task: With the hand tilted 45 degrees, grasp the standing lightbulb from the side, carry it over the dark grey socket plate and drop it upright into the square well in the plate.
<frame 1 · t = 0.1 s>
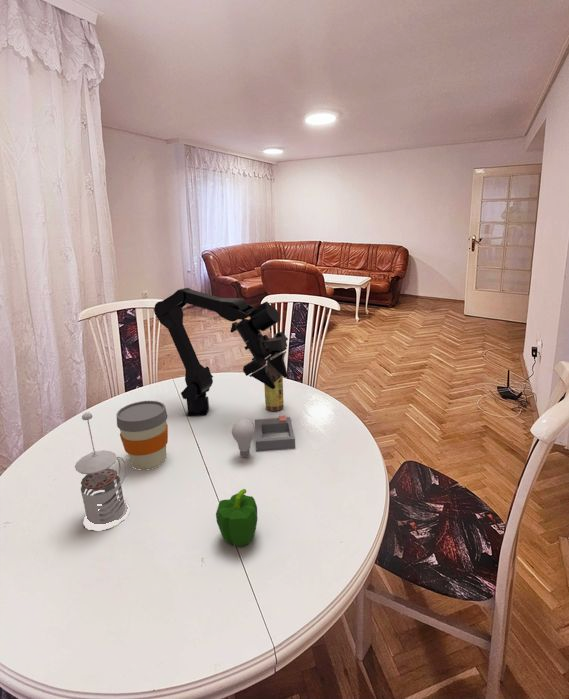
hand: (280, 382, 119), 15 cm above the table, tool tilted 35°, fingers open, 9 cm apart
reusable coffee cup: (149, 461, 108), on the table
bell pepper: (240, 538, 81), on the table
french press: (110, 513, 89), on the table
lightbulb: (245, 457, 108), on the table
sauce bottle: (274, 408, 137), on the table
socket: (276, 439, 117), on the table
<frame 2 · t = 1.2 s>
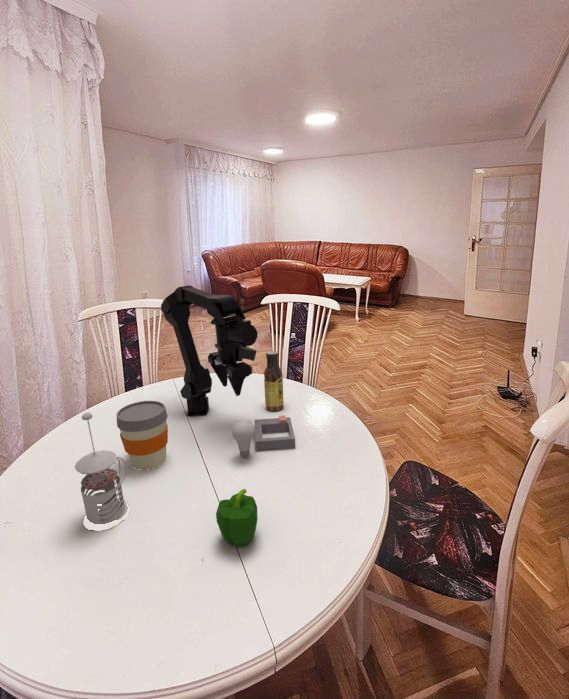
hand: (231, 390, 119), 13 cm above the table, tool pointing down, fingers open, 9 cm apart
nothing on the table moved.
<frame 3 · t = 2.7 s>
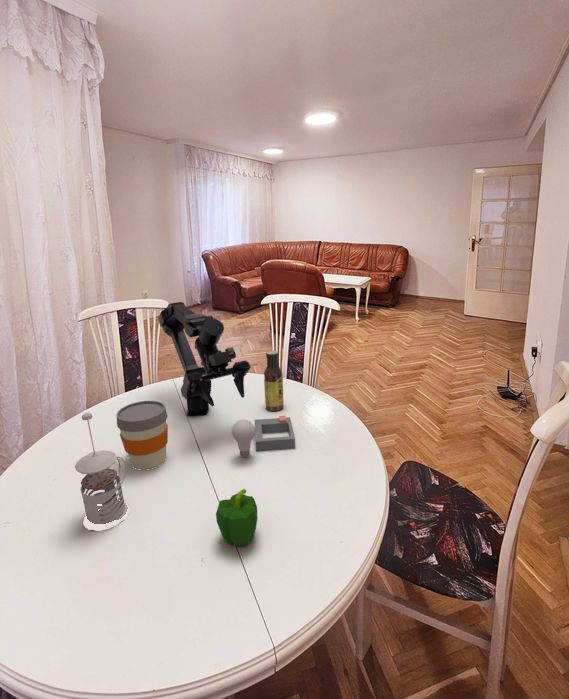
hand: (228, 401, 111), 13 cm above the table, tool tilted 45°, fingers open, 9 cm apart
nothing on the table moved.
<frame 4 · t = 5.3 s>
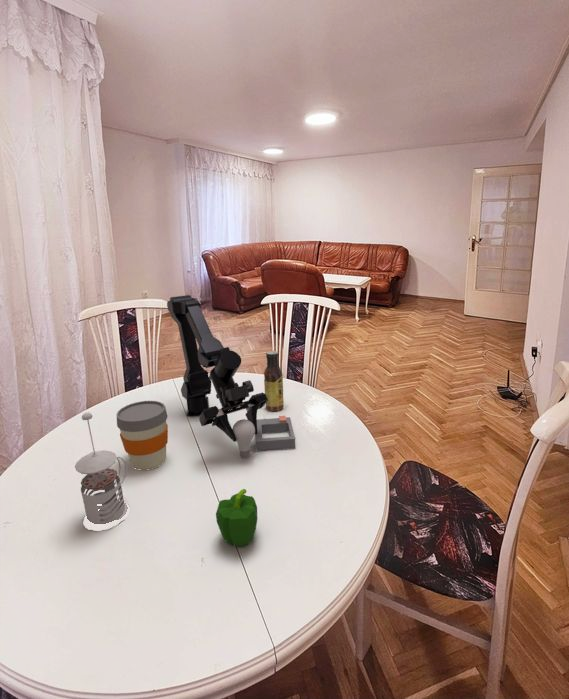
hand: (246, 437, 105), 7 cm above the table, tool tilted 45°, fingers closed on lightbulb, 6 cm apart
lightbulb: (245, 457, 108), on the table, touching gripper
everything else where it was.
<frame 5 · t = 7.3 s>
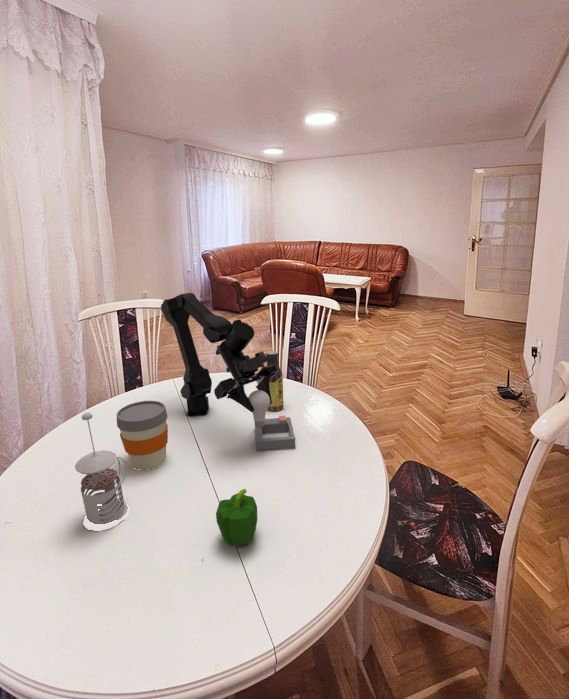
hand: (262, 407, 107), 13 cm above the table, tool tilted 45°, fingers closed on lightbulb, 6 cm apart
lightbulb: (259, 428, 110), point 6 cm above the table, touching gripper
everything else where it was.
when the fingers open (9 cm above the table, at t = 9.4 s): lightbulb drops 2 cm, resting in socket.
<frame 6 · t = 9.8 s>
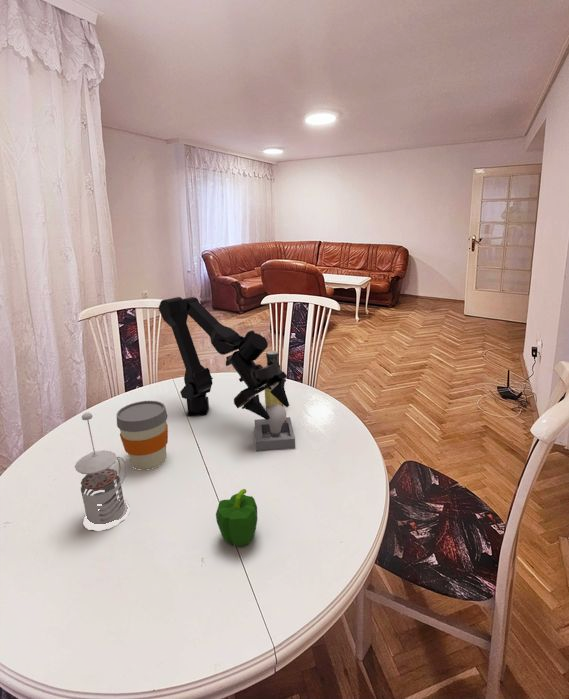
hand: (278, 412, 113), 9 cm above the table, tool tilted 45°, fingers open, 9 cm apart
lightbulb: (275, 439, 117), resting in socket
everything else where it was.
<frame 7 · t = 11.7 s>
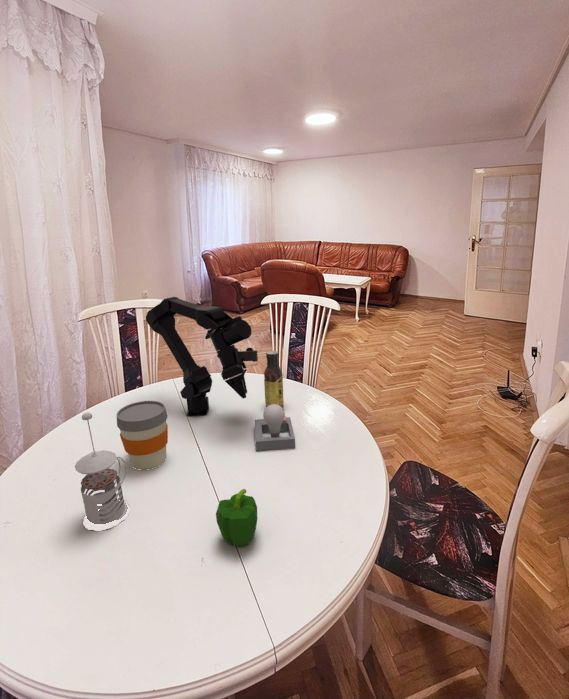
hand: (245, 395, 121), 11 cm above the table, tool tilted 25°, fingers open, 9 cm apart
nothing on the table moved.
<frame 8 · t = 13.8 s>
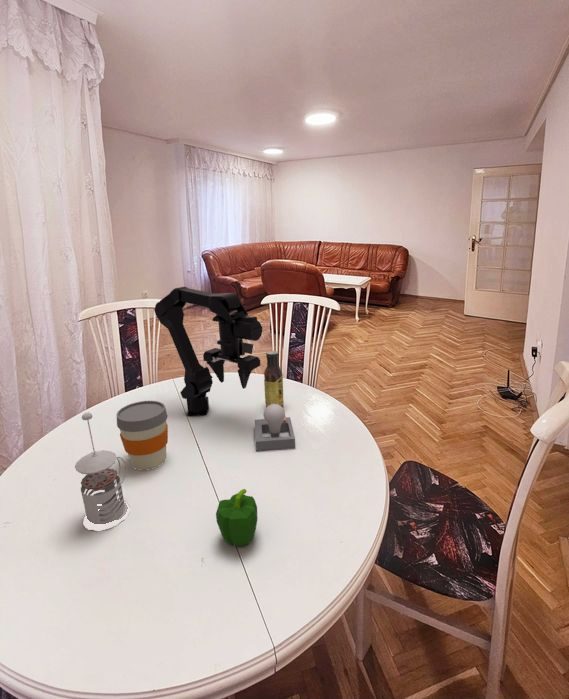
hand: (233, 385, 123), 13 cm above the table, tool pointing down, fingers open, 9 cm apart
nothing on the table moved.
at the end: lightbulb 0.4 cm from the socket (horizontally); lightbulb touching table; the gripper is holding nothing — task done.
